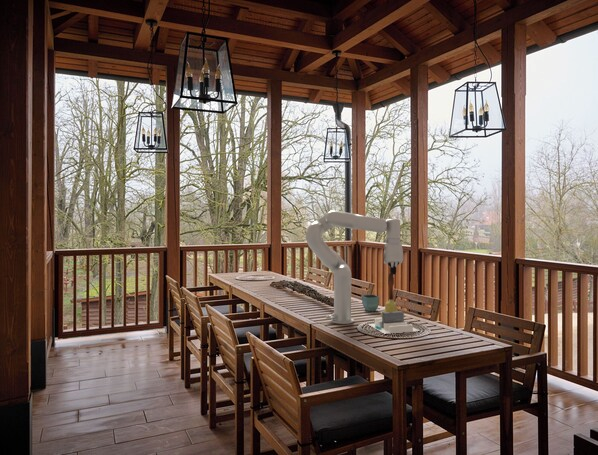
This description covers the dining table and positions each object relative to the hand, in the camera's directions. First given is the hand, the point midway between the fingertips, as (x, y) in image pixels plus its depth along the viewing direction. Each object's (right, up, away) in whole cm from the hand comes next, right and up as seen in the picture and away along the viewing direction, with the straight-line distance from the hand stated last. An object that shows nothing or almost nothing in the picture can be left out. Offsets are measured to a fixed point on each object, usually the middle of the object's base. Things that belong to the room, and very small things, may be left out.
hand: (393, 274), depth 259 cm
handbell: (+3, -27, +21) cm, 34 cm away
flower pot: (-8, -26, +32) cm, 42 cm away
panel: (-3, -27, -12) cm, 29 cm away
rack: (-2, -28, -12) cm, 30 cm away
